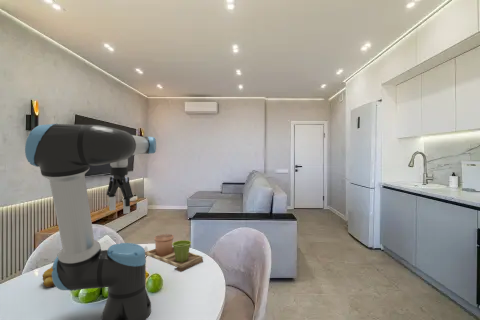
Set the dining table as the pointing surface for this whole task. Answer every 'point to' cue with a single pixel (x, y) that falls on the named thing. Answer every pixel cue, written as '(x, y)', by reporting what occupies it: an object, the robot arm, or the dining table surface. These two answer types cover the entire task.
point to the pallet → (171, 260)
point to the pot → (164, 244)
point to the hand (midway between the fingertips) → (119, 211)
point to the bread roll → (48, 278)
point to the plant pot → (181, 250)
